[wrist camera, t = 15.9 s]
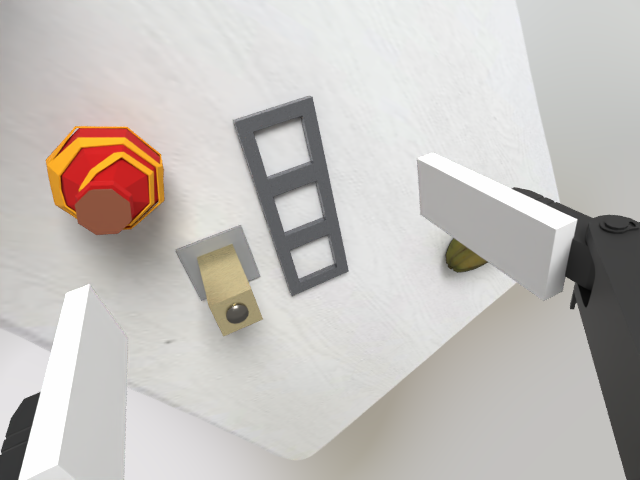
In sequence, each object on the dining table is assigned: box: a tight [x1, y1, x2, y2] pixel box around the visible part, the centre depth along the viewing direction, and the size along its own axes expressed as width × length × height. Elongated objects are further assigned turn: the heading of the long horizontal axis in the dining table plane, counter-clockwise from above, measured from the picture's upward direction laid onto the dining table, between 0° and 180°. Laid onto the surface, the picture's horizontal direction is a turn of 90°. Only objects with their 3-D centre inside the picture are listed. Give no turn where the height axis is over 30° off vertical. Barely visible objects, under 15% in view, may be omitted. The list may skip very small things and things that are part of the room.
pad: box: [176, 225, 260, 301], centre depth 54 cm, size 9×9×1 cm
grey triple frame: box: [233, 96, 348, 296], centre depth 54 cm, size 10×28×1 cm, turn 12°
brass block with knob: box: [197, 244, 263, 336], centre depth 50 cm, size 5×5×11 cm
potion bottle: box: [46, 126, 164, 235], centre depth 37 cm, size 10×10×15 cm
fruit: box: [446, 238, 488, 273], centre depth 70 cm, size 11×12×7 cm
